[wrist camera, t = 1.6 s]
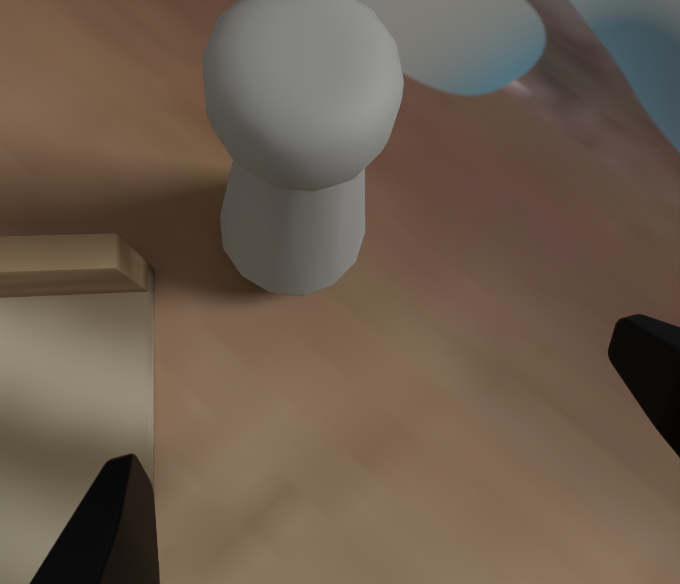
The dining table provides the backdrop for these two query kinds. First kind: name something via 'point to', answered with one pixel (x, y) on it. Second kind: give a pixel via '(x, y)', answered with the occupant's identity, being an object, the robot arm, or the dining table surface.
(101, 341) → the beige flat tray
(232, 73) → the salt shaker
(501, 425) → the dining table surface
